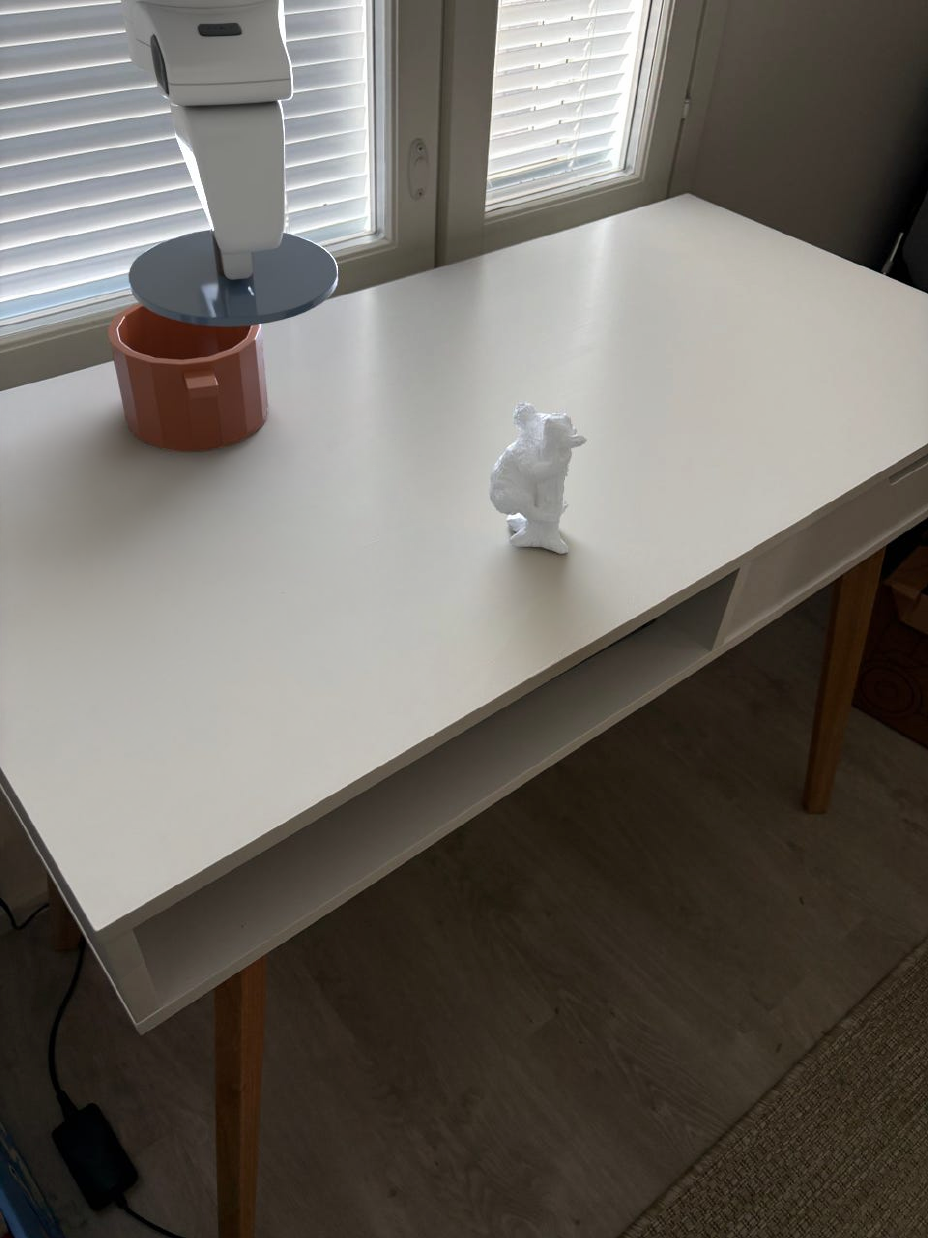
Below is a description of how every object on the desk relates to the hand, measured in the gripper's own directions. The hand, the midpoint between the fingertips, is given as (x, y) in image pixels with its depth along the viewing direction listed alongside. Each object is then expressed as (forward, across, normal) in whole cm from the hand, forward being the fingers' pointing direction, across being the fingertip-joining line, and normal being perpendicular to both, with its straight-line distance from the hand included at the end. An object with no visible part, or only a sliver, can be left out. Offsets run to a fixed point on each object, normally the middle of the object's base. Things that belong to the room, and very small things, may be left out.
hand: (232, 262), depth 67 cm
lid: (+1, 0, 0) cm, 1 cm away
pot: (+22, -17, -3) cm, 28 cm away
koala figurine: (+22, +7, +21) cm, 31 cm away
